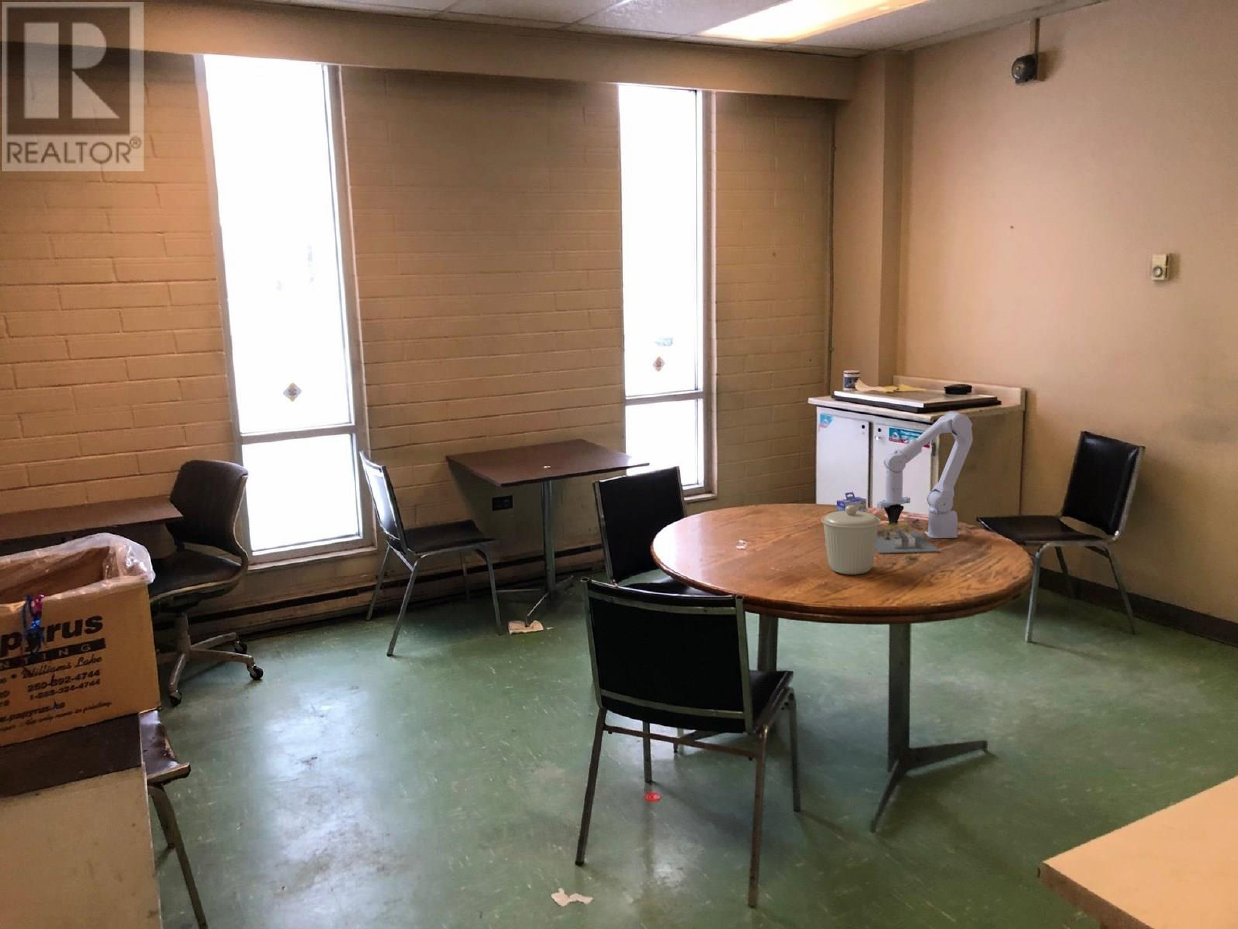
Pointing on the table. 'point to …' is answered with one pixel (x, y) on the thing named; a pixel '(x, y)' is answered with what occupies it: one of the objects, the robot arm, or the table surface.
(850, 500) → the ink cartridge box
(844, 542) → the canister
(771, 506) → the table surface
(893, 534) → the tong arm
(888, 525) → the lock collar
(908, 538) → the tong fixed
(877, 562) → the table surface
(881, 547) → the mat
